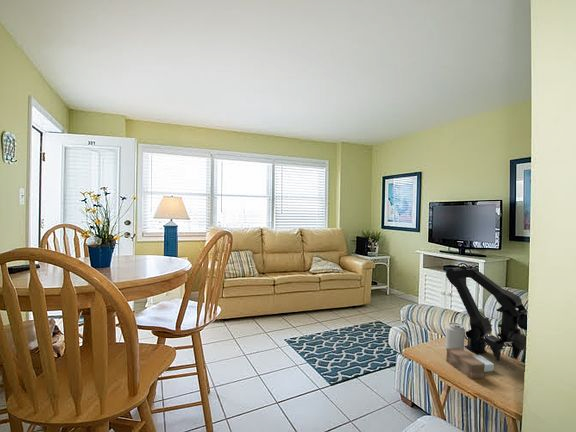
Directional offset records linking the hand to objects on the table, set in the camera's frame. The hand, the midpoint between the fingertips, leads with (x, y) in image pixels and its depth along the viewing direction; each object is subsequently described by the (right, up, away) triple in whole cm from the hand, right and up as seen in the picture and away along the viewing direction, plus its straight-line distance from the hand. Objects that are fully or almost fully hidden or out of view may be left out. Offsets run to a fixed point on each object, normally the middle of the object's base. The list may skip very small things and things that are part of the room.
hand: (506, 359), depth 130 cm
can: (-17, -1, +10) cm, 20 cm away
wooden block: (-21, -1, -5) cm, 22 cm away
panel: (-16, -2, -4) cm, 17 cm away
